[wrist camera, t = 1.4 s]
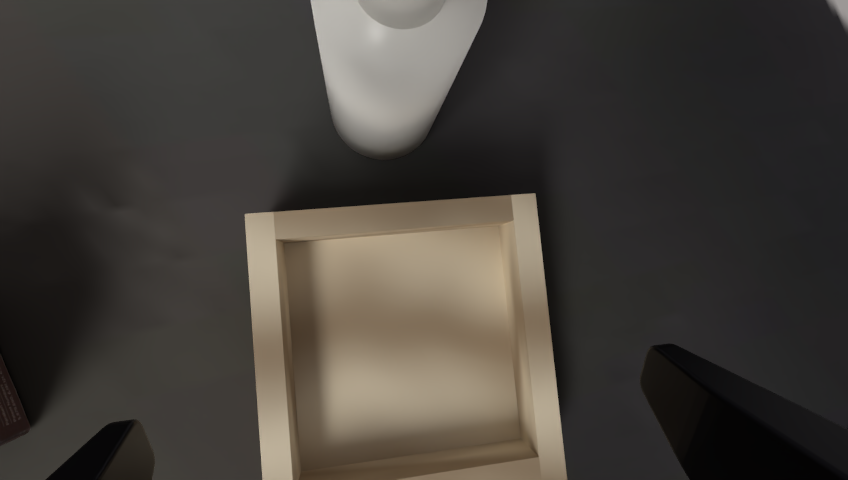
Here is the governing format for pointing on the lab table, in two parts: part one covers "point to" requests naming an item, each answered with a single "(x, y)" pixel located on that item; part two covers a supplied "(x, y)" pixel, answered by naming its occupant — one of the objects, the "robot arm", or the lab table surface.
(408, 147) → the reagent bottle
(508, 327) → the oak tray
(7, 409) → the box
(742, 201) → the lab table surface
